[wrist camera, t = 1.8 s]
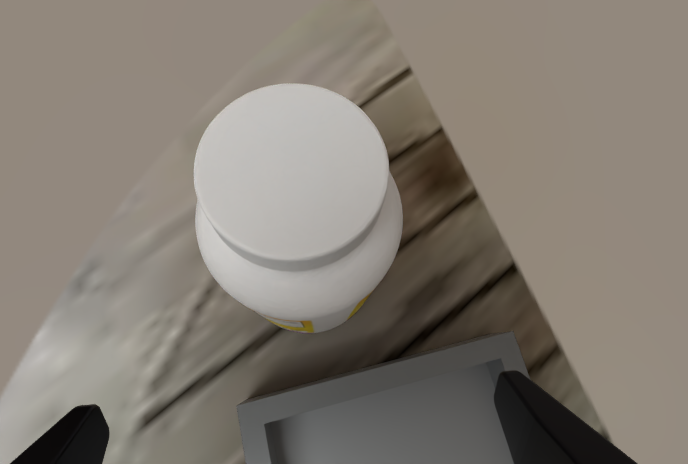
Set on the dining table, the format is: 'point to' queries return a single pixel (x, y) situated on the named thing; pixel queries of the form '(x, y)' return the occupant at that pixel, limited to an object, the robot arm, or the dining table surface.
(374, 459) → the tray
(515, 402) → the robot arm
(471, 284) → the dining table surface
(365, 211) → the supplement bottle
